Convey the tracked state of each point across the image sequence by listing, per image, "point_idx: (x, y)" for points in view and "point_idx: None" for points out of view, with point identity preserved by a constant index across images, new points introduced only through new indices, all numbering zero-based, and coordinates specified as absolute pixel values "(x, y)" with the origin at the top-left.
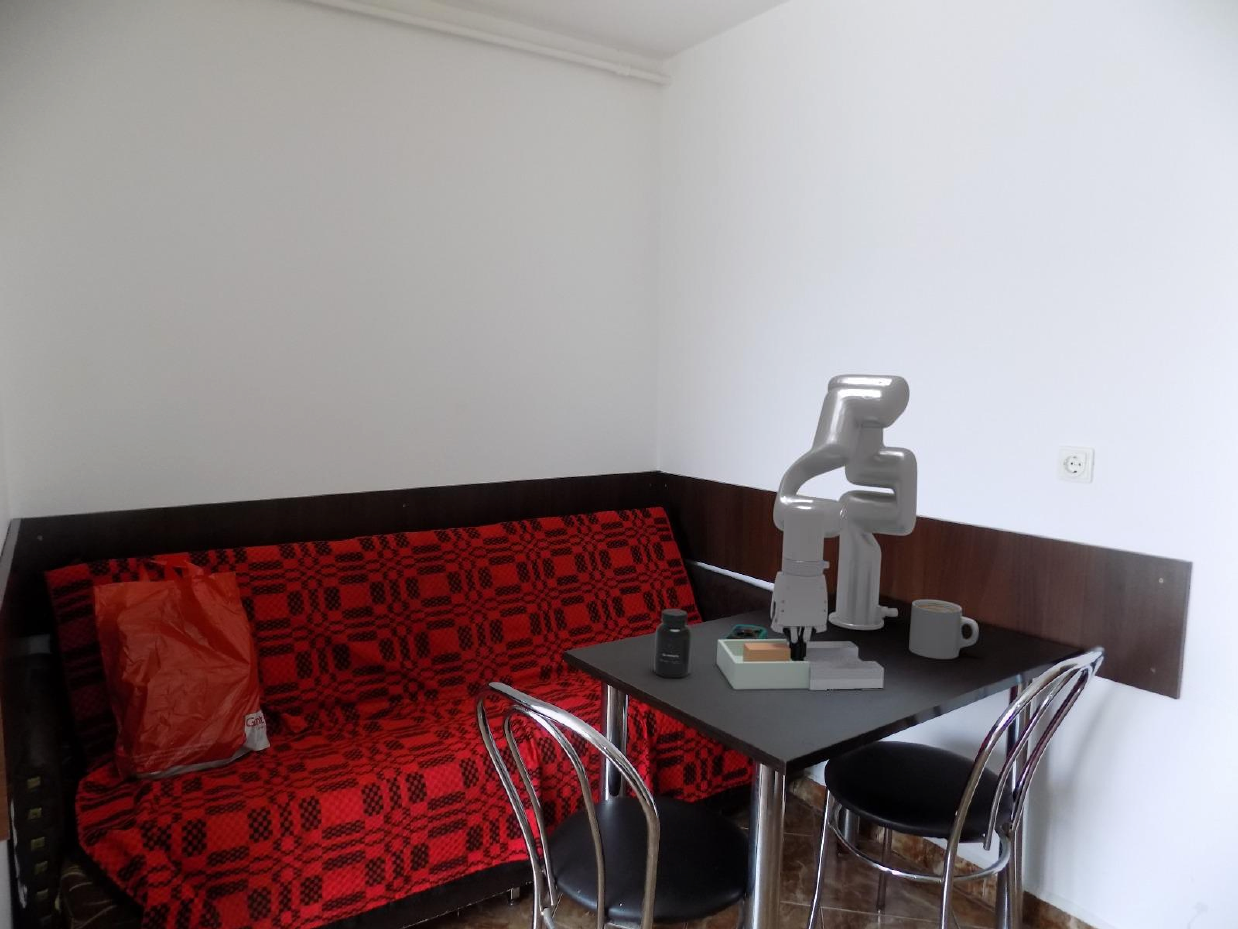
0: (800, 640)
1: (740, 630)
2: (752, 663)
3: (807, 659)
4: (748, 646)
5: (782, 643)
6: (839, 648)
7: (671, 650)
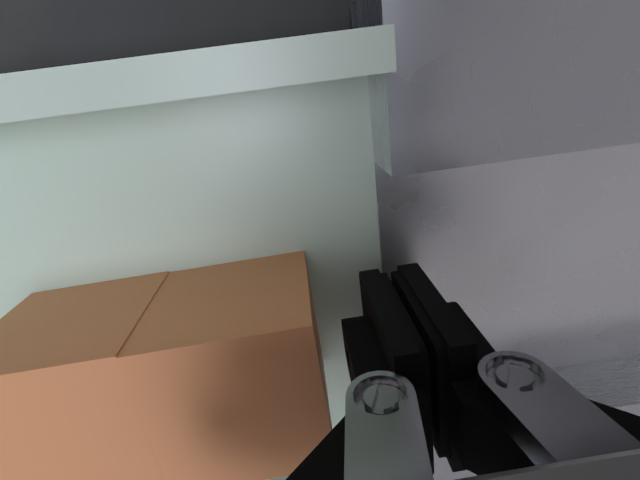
0: (456, 444)
1: None
2: None
3: (490, 181)
4: None
5: (296, 348)
6: None
7: None
